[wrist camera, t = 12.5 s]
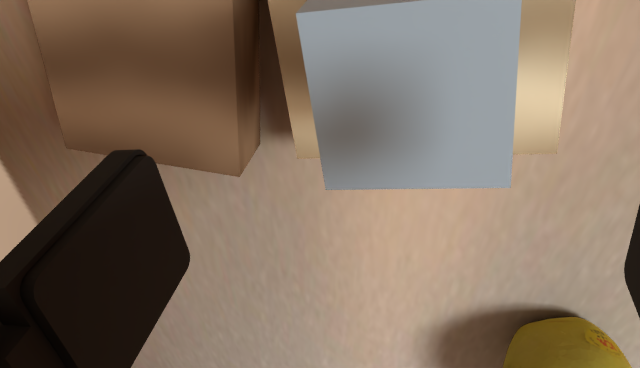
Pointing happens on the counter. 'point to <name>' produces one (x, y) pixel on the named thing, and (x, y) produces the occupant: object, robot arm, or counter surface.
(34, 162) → the counter surface
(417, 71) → the grey block
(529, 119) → the maple plinth
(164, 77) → the walnut plinth
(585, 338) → the apple
